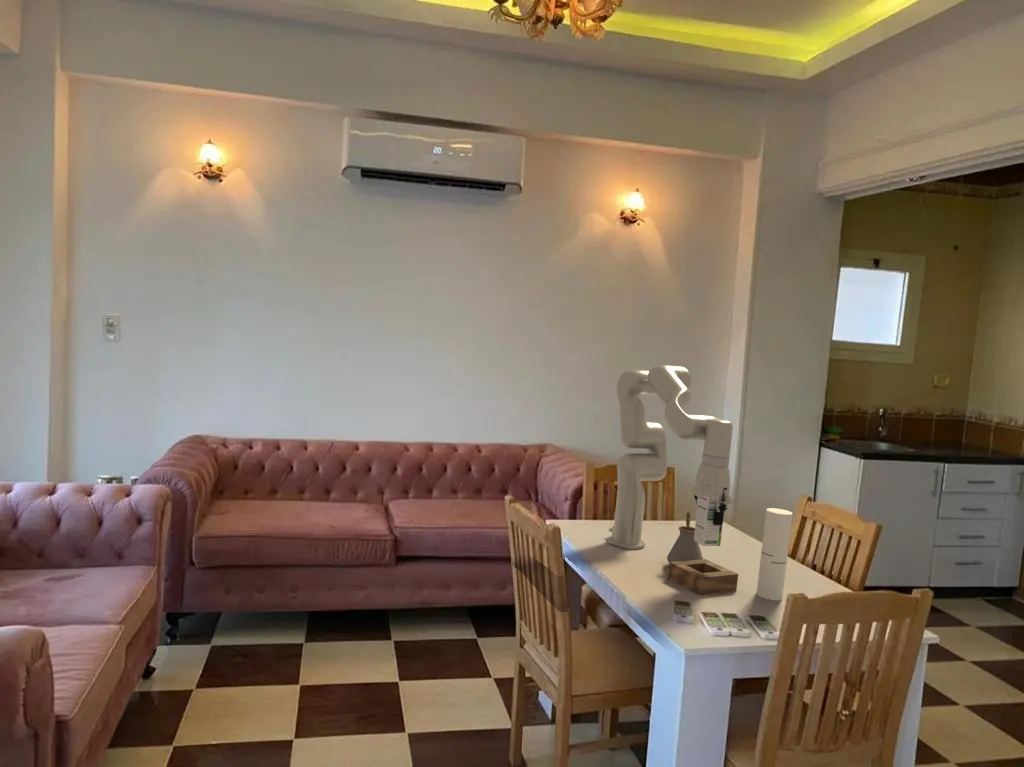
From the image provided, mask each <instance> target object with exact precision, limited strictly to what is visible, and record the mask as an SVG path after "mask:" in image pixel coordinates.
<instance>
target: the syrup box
mask: <svg viewBox="0 0 1024 767" xmlns="http://www.w3.org/2000/svg"><path fill="white" fill-rule="evenodd" d="M709 499H710V498H709V497H707V496H704V498H700V497H698V502H697V504H696V512H697V513H695V526H694V528H695V534H694V541H696V542H697V543H699V545H701V546H702V547H709V546H710V547H712V546H713V547H720V546H721V543H722V542H721V540H722V532H723V524H722V525H713V520H714V512H715V511H716V507H715V502H711V501H710V500H709ZM721 500H722V499H721ZM721 500H720V501H721ZM724 501H725V500H724ZM719 505H720V506H721V503H719Z"/></svg>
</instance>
